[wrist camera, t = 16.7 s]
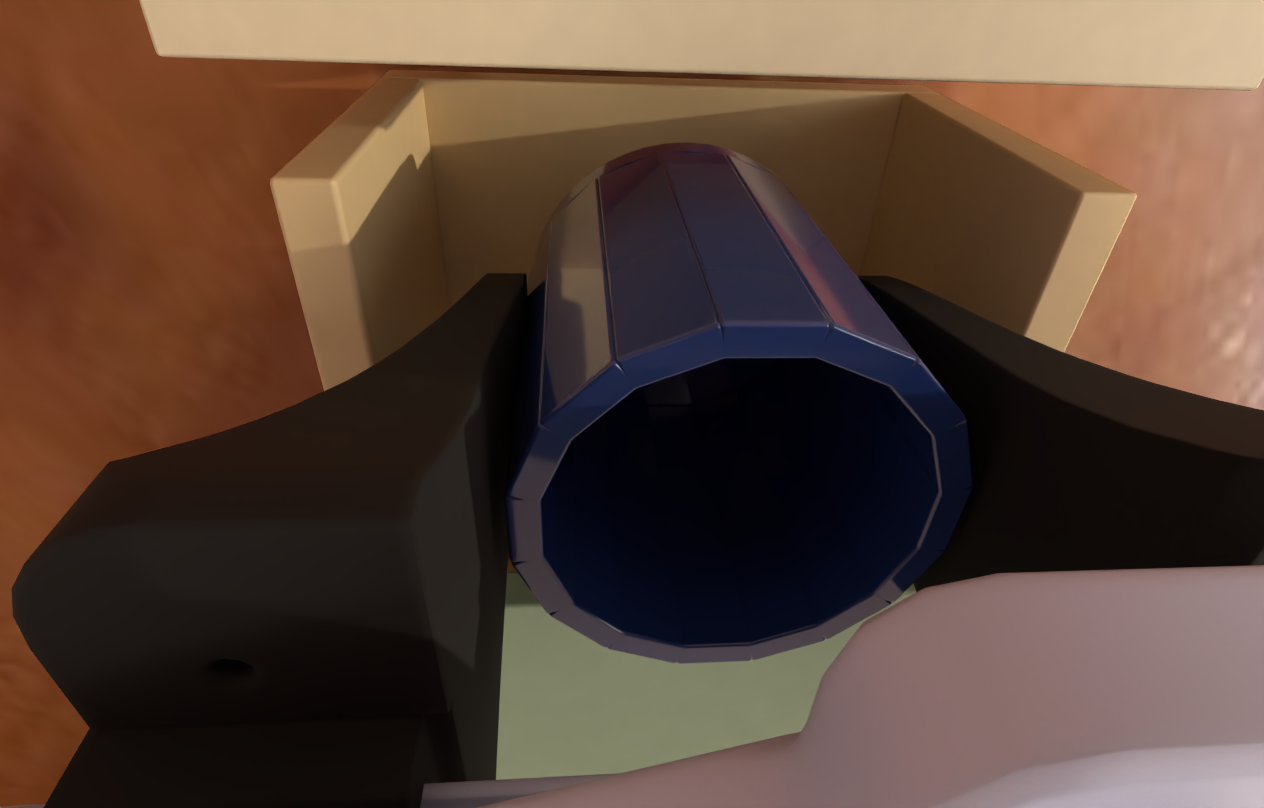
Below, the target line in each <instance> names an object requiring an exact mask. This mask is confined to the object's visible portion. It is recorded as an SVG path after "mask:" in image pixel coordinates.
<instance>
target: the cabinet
mask: <svg viewBox="0 0 1264 808" xmlns="http://www.w3.org/2000/svg"><path fill="white" fill-rule="evenodd" d="M915 593H917V592H916V589H915V587H914V584H912V585H911V586H910V587H909V588H908V589H907V590H906V591H905V592H904V593H903V594H902V595H901V596H900V597H899V598H898V599H897V600H896V601H895V602H892V604H891V605H890V606H888V607H886V608H884V609H882V610H881V611H879V612H877V613H875V614H873V615H872V616H870V617H868V618H866V619H864V620H863V621H861V622H859V623H857V624H855V625H854V626H852V627H850V628H848V629H846V630H845V631H843V632H841V633H839V634H837V635H836V636H834V637H832V638H830V639H825V640H824V641H823V642H819V643H816V644H812V645H808V646H805V647H801V648H797V649H794V650H790V651H787V652H783V653H779V654H776V655H772V656H768V657H765V658H761V659H758V660H750V661H741V662H716V663H691V664H679V663H669V662H665V661H660V660H656V659H651V658H646V657H642V656H637V655H632V654H628V653H623V652H619V651H614V650H609V649H608V648H607V647H606V648H605V647H602V646H600V645H599V644H597V643H595V642H594V641H592V640H590V639H588V638H587V637H585V636H583V635H582V634H580V633H578V632H576V631H575V630H573V629H571V628H570V627H568V626H566V625H564V624H563V623H561V622H559V621H558V620H556V619H554V618H552V617H551V616H550V615H549V613H546V611H545V610H544V609H543V607H542V606H541V604H540V603H539V602H538V600H537V599H536V598H535V596H534V595H533V593H532V592H531V591H530V589H529V588H528V586H527V585H526V584H525V582H524V581H523V579H522V578H521V577H520V575H519V574H518V572H507V583H506V599H505V614H504V631H503V649H502V666H501V684H500V705H499V725H498V745H497V768H496V780H503V779H522V778H541V777H560V776H579V775H598V774H617V773H625V772H629V771H633V770H638V769H642V768H646V767H650V766H655V765H659V764H663V763H667V762H672V761H676V760H680V759H685V758H689V757H693V756H697V755H702V754H706V753H710V752H714V751H719V750H723V749H727V748H731V747H736V746H740V745H744V744H748V743H753V742H757V741H761V740H765V739H770V738H774V737H778V736H782V735H787V734H792V733H797V732H801V731H802V729H803V728H804V726H805V724H806V722H807V720H808V717H809V714H810V711H811V708H812V705H813V702H814V699H815V696H816V693H817V690H818V687H819V684H820V681H821V678H822V676H823V675H824V673H825V672H826V670H827V669H828V668H829V666H830V665H831V664H832V662H833V661H834V660H835V658H836V657H837V656H838V654H839V653H840V652H841V651H842V649H843V648H844V647H845V645H846V644H847V643H848V641H849V640H850V639H851V638H852V636H853V635H854V634H855V632H856V631H857V630H858V628H859V627H860V626H861V625H862V623H863V622H864V621H866V620H868V619H870V618H872V617H873V616H875V615H877V614H879V613H881V612H882V611H884V610H886V609H888V608H890V607H892V606H893V605H895V604H897V603H899V602H901V601H902V600H904V599H906V598H908V597H910V596H911V595H913V594H915Z"/></svg>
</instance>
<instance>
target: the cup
mask: <svg viewBox="0 0 1264 808" xmlns="http://www.w3.org/2000/svg"><path fill="white" fill-rule="evenodd" d="M527 295H528V296H527V305H526V315H525V324H524V331H523V336H522V344H521V350H520V358H519V367H518V376H517V385H516V394H515V403H514V412H513V421H512V430H511V439H510V448H509V457H508V466H507V475H506V484H505V493H504V503H505V514H506V525H507V537H508V548H509V558H510V560H511V562H512V565H513V567H514V568H515V570H516V571H517V572H518V574H519V575H520V577H521V578H522V579H523V581H524V582H525V584H526V585H527V586H528V588H529V589H530V591H531V592H532V593H533V595H534V596H535V598H536V599H537V600H538V602H539V603H540V604H541V606H542V607H543V609H544V610H545V611H546V613H549V615H550V616H551V617H552V618H554V619H556V620H558V621H559V622H561V623H563V624H564V625H566V626H568V627H570V628H571V629H573V630H575V631H576V632H578V633H580V634H582V635H583V636H585V637H587V638H588V639H590V640H592V641H594V642H595V643H597V644H599V645H600V646H602V647H605V648H606V647H607V648H608V649H609V650H614V651H619V652H623V653H628V654H632V655H637V656H642V657H646V658H651V659H656V660H660V661H665V662H669V663H679V664H691V663H716V662H741V661H750V660H758V659H761V658H765V657H768V656H772V655H776V654H779V653H783V652H787V651H790V650H794V649H797V648H801V647H805V646H808V645H812V644H816V643H819V642H823V641H824V640H825V639H830V638H832V637H834V636H836V635H837V634H839V633H841V632H843V631H845V630H846V629H848V628H850V627H852V626H854V625H855V624H857V623H859V622H861V621H863V620H864V619H866V618H868V617H870V616H872V615H873V614H875V613H877V612H879V611H881V610H882V609H884V608H886V607H888V606H890V605H891V604H892V602H895V601H896V600H897V599H898V598H899V597H900V596H901V595H902V594H903V593H904V592H905V591H906V590H907V589H908V588H909V587H910V586H911V585H912V584H913V583H914V582H915V581H916V580H917V579H918V578H919V577H920V576H921V575H922V574H923V573H924V572H925V571H926V570H927V569H928V568H929V567H930V566H931V565H932V564H933V563H934V562H935V561H936V560H937V559H938V558H939V557H940V556H941V555H942V554H943V553H944V550H946V549H947V547H948V545H949V542H950V540H951V538H952V535H953V533H954V531H955V529H956V526H957V524H958V522H959V520H960V517H961V515H962V513H963V510H964V508H965V506H966V504H967V501H968V499H969V497H970V494H971V492H972V486H973V476H972V465H971V455H970V444H969V434H968V423H967V420H966V418H965V414H964V413H963V411H962V410H961V409H960V407H959V406H958V405H957V404H956V402H955V401H954V400H953V398H952V397H951V396H950V395H949V393H948V392H947V391H946V389H945V388H944V387H943V386H942V384H941V383H940V382H939V380H938V379H937V378H936V376H935V375H934V374H933V373H932V371H931V370H930V369H929V367H928V366H927V365H926V364H925V362H924V361H923V360H922V358H921V357H920V356H919V355H918V353H917V352H916V351H915V349H914V348H913V347H912V345H911V344H910V343H909V342H908V340H907V339H906V338H905V336H904V335H903V334H902V333H901V331H900V330H899V329H898V327H897V326H896V325H895V324H894V322H893V321H892V320H891V318H890V317H889V316H888V315H887V313H886V312H885V311H884V309H883V308H882V307H881V305H880V304H879V303H878V302H877V300H876V299H875V298H874V296H873V295H872V294H871V293H870V291H869V290H868V289H867V287H866V286H865V285H864V284H863V282H862V281H861V280H860V278H859V277H858V276H857V274H856V273H855V272H854V271H853V269H852V268H851V267H850V265H849V264H848V263H847V262H846V260H845V259H844V258H843V256H842V255H841V254H840V253H839V251H838V250H837V249H836V247H835V246H834V245H833V243H832V242H831V241H830V240H829V238H828V237H827V236H826V234H825V233H824V232H823V231H822V229H821V228H820V227H819V225H818V224H817V223H816V222H815V220H814V219H813V218H812V217H811V215H810V214H809V213H808V212H807V210H806V209H805V208H804V207H803V205H802V204H801V203H800V202H799V200H798V199H797V198H796V196H795V195H794V194H793V192H792V191H791V190H790V189H789V188H788V187H787V185H786V184H785V183H784V182H782V180H781V179H780V178H779V177H777V176H776V175H775V174H774V173H772V172H771V171H770V170H769V169H767V168H766V167H765V166H763V165H761V164H760V163H758V162H756V161H754V160H753V159H751V158H749V157H747V156H745V155H743V154H740V153H737V152H735V151H732V150H730V149H726V148H722V147H718V146H714V145H709V144H700V143H689V142H686V143H666V144H660V145H655V146H649V147H645V148H642V149H639V150H635V151H632V152H629V153H626V154H624V155H622V156H620V157H617V158H615V159H613V160H611V161H609V162H607V163H605V164H604V165H602V166H601V167H599V168H598V169H596V170H594V171H593V172H591V173H590V174H588V175H587V176H586V177H585V178H584V179H583V180H581V181H580V182H579V183H578V184H577V185H576V186H574V187H573V188H572V189H571V190H570V192H569V193H568V194H567V195H566V196H565V197H564V198H563V199H562V201H561V202H560V203H559V204H558V206H557V207H556V209H555V210H554V212H553V213H552V215H551V216H550V218H549V219H548V221H547V223H546V225H545V227H544V230H543V232H542V234H541V236H540V238H539V242H538V245H537V248H536V251H535V254H534V260H533V266H532V269H531V271H530V274H529V279H528V286H527Z"/></svg>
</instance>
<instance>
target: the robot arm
mask: <svg viewBox="0 0 1264 808" xmlns="http://www.w3.org/2000/svg"><path fill="white" fill-rule="evenodd" d="M858 277H859V278H860V280H861V281H862V282H863V284H864V285H865V286H866V287H867V289H868V290H869V291H870V293H871V294H872V295H873V296H874V298H875V299H876V300H877V302H878V303H879V304H880V305H881V307H882V308H883V309H884V311H885V312H886V313H887V315H888V316H889V317H890V318H891V320H892V321H893V322H894V324H895V325H896V326H897V327H898V329H899V330H900V331H901V333H902V334H903V335H904V336H905V338H906V339H907V340H908V342H909V343H910V344H911V345H912V347H913V348H914V349H915V351H916V352H917V353H918V355H919V356H920V357H921V358H922V360H923V361H924V362H925V364H926V365H927V366H928V367H929V369H930V370H931V371H932V373H933V374H934V375H935V376H936V378H937V379H938V380H939V382H940V383H941V384H942V386H943V387H944V388H945V389H946V391H947V392H948V393H949V395H950V396H951V397H952V398H953V400H954V401H955V402H956V404H957V405H958V406H959V407H960V409H961V410H962V411H963V413H964V414H965V418H966V420H967V423H968V434H969V444H970V455H971V465H972V476H973V486H972V492H971V494H970V497H969V499H968V501H967V504H966V506H965V508H964V510H963V513H962V515H961V517H960V520H959V522H958V524H957V526H956V529H955V531H954V533H953V535H952V538H951V540H950V542H949V545H948V547H947V549H946V550H944V553H943V554H942V555H941V556H940V557H939V558H938V559H937V560H936V561H935V562H934V563H933V564H932V565H931V566H930V567H929V568H928V569H927V570H926V571H925V572H924V573H923V574H922V575H921V576H920V577H919V578H918V579H917V580H916V581H915V582H914V583H913V584H914V587H915V589H916V592H917V593H915V594H913V595H911V596H910V597H908V598H906V599H904V600H902V601H901V602H899V603H897V604H895V605H893V606H892V607H890V608H888V609H886V610H884V611H882V612H881V613H879V614H877V615H875V616H873V617H872V618H870V619H868V620H866V621H864V622H863V623H862V625H861V626H860V627H859V628H858V630H857V631H856V632H855V634H854V635H853V636H852V638H851V639H850V640H849V641H848V643H847V644H846V645H845V647H844V648H843V649H842V651H841V652H840V653H839V654H838V656H837V657H836V658H835V660H834V661H833V662H832V664H831V665H830V666H829V668H828V669H827V670H826V672H825V673H824V675H823V676H822V678H821V681H820V684H819V687H818V690H817V693H816V696H815V699H814V702H813V705H812V708H811V711H810V714H809V717H808V720H807V722H806V724H805V726H804V728H803V729H802V731H801V732H797V733H792V734H787V735H782V736H778V737H774V738H770V739H765V740H761V741H757V742H753V743H748V744H744V745H740V746H736V747H731V748H727V749H723V750H719V751H714V752H710V753H706V754H702V755H697V756H693V757H689V758H685V759H680V760H676V761H672V762H667V763H663V764H659V765H655V766H650V767H646V768H642V769H638V770H633V771H629V772H625V773H617V774H598V775H579V776H560V777H541V778H522V779H503V780H496V768H497V745H498V725H499V705H500V684H501V666H502V649H503V631H504V614H505V599H506V583H507V568H508V557H509V548H508V537H507V525H506V514H505V503H504V493H505V484H506V475H507V466H508V457H509V448H510V439H511V430H512V421H513V412H514V403H515V394H516V385H517V376H518V367H519V358H520V350H521V344H522V336H523V331H524V324H525V315H526V305H527V296H528V295H527V276H526V273H487V274H486V275H485V276H483V277H482V278H481V279H480V280H479V281H478V282H477V283H476V284H475V285H474V286H473V287H472V288H471V289H470V290H469V291H468V292H467V293H466V294H464V295H463V296H462V297H461V298H460V299H459V300H458V301H457V302H456V303H455V304H454V305H453V306H452V307H450V308H449V309H448V310H447V311H446V312H445V313H444V314H443V315H442V316H440V317H439V318H438V319H437V320H436V321H435V322H433V323H432V324H431V325H429V326H428V327H427V328H425V329H424V330H423V331H422V332H420V333H419V334H418V335H416V336H415V337H414V338H413V339H411V340H410V341H409V342H407V343H406V344H405V345H404V346H402V347H401V348H399V349H398V350H396V351H395V352H394V353H392V354H391V355H389V356H388V357H386V358H384V359H383V360H381V361H380V362H378V363H376V364H375V365H373V366H371V367H370V368H368V369H366V370H364V371H363V372H361V373H359V374H358V375H356V376H354V377H352V378H350V379H349V380H347V381H345V382H343V383H341V384H338V385H336V386H334V387H332V388H330V389H328V390H326V391H324V392H321V393H319V394H317V395H315V396H313V397H311V398H309V399H306V400H304V401H302V402H300V403H298V404H296V405H293V406H291V407H289V408H286V409H284V410H281V411H278V412H276V413H273V414H271V415H268V416H266V417H263V418H260V419H258V420H255V421H252V422H249V423H246V424H243V425H240V426H237V427H234V428H231V429H229V430H226V431H223V432H219V433H216V434H213V435H210V436H206V437H203V438H200V439H196V440H192V441H189V442H185V443H181V444H177V445H174V446H170V447H166V448H162V449H159V450H155V451H151V452H148V453H144V454H140V455H136V456H133V457H129V458H124V459H120V460H116V461H111V462H109V463H108V464H107V465H106V466H105V467H104V469H103V470H102V471H101V472H100V473H99V474H98V475H97V477H96V478H95V479H94V480H93V481H92V483H91V484H90V485H89V486H88V487H87V489H86V490H85V491H84V492H83V493H82V495H81V496H80V497H79V498H78V499H77V501H76V502H75V503H74V504H73V506H72V507H71V508H70V509H69V510H68V512H67V513H66V514H65V515H64V516H63V518H62V519H61V520H60V521H59V522H58V524H57V525H56V526H55V527H54V528H53V530H52V531H51V532H50V533H49V534H48V536H47V537H46V538H45V539H44V541H43V542H42V543H41V544H40V545H39V547H38V548H37V549H36V550H35V551H34V553H33V554H32V555H31V556H30V557H29V559H28V560H27V561H26V562H25V563H24V565H23V567H22V569H21V571H20V573H19V575H18V577H17V579H16V581H15V583H14V585H13V587H12V604H13V617H14V619H15V621H16V623H17V624H18V626H19V628H20V630H21V632H22V634H23V636H24V638H25V640H26V642H27V644H28V645H29V647H30V649H31V651H32V652H33V653H34V655H35V656H36V657H37V659H38V660H39V661H40V663H41V664H42V665H43V667H44V668H45V669H46V671H47V672H48V673H49V674H50V676H51V677H52V678H53V680H54V681H55V682H56V684H57V685H58V686H59V688H60V689H61V690H62V692H63V693H64V694H65V696H66V697H67V698H68V700H69V701H70V702H71V704H72V705H73V706H74V707H75V709H76V710H77V711H78V713H79V714H80V715H81V717H82V718H83V719H84V721H85V722H86V723H87V725H88V726H89V727H90V729H89V731H88V732H87V734H86V736H85V738H84V739H83V741H82V743H81V744H80V746H79V748H78V750H77V751H76V753H75V755H74V756H73V758H72V760H71V762H70V763H69V765H68V767H67V768H66V770H65V772H64V774H63V775H62V777H61V779H60V780H59V782H58V784H57V786H56V787H55V789H54V791H53V792H52V794H51V796H50V798H49V799H48V801H47V803H46V804H29V805H10V806H0V808H1264V410H1259V409H1254V408H1250V407H1245V406H1241V405H1237V404H1232V403H1228V402H1224V401H1219V400H1215V399H1211V398H1207V397H1204V396H1200V395H1196V394H1192V393H1189V392H1185V391H1181V390H1177V389H1174V388H1170V387H1166V386H1163V385H1159V384H1155V383H1152V382H1149V381H1145V380H1142V379H1139V378H1136V377H1132V376H1129V375H1126V374H1123V373H1120V372H1117V371H1114V370H1111V369H1108V368H1106V367H1103V366H1100V365H1097V364H1094V363H1091V362H1088V361H1085V360H1082V359H1079V358H1077V357H1074V356H1072V355H1069V354H1066V353H1064V352H1061V351H1059V350H1056V349H1054V348H1051V347H1049V346H1047V345H1044V344H1042V343H1039V342H1037V341H1035V340H1032V339H1030V338H1028V337H1025V336H1023V335H1021V334H1018V333H1016V332H1014V331H1012V330H1009V329H1007V328H1005V327H1003V326H1001V325H998V324H996V323H994V322H992V321H990V320H988V319H985V318H983V317H981V316H979V315H977V314H975V313H973V312H971V311H969V310H967V309H964V308H962V307H960V306H958V305H956V304H954V303H952V302H950V301H948V300H946V299H944V298H941V297H939V296H937V295H935V294H933V293H931V292H929V291H926V290H924V289H922V288H920V287H917V286H915V285H913V284H910V283H908V282H905V281H903V280H900V279H897V278H893V277H890V276H858Z"/></svg>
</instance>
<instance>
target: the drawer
mask: <svg viewBox="0 0 1264 808" xmlns="http://www.w3.org/2000/svg"><path fill="white" fill-rule="evenodd" d="M139 2H140V5H141V8H142V11H143V14H144V17H145V20H146V23H147V27H148V30H149V33H150V36H151V39H152V42H153V45H154V48H155V51H156V53H157V55H159V56H162V57H175V58H208V59H240V60H273V61H305V62H338V63H370V64H403V65H435V66H468V67H500V68H533V69H565V70H598V71H631V72H663V73H696V74H728V75H761V76H793V77H826V78H858V79H891V80H923V81H956V82H988V83H1021V84H1053V85H1086V86H1118V87H1151V88H1183V89H1216V90H1248V91H1250V90H1254V89H1256V88H1257V87H1258V86H1259V84H1260V82H1261V81H1262V79H1263V77H1264V0H139ZM686 142H689V143H700V144H709V145H714V146H718V147H722V148H726V149H730V150H732V151H735V152H737V153H740V154H743V155H745V156H747V157H749V158H751V159H753V160H754V161H756V162H758V163H760V164H761V165H763V166H765V167H766V168H767V169H769V170H770V171H771V172H772V173H774V174H775V175H776V176H777V177H779V178H780V179H781V180H782V182H784V183H785V184H786V185H787V187H788V188H789V189H790V190H791V191H792V192H793V194H794V195H795V196H796V198H797V199H798V200H799V202H800V203H801V204H802V205H803V207H804V208H805V209H806V210H807V212H808V213H809V214H810V215H811V217H812V218H813V219H814V220H815V222H816V223H817V224H818V225H819V227H820V228H821V229H822V231H823V232H824V233H825V234H826V236H827V237H828V238H829V240H830V241H831V242H832V243H833V245H834V246H835V247H836V249H837V250H838V251H839V253H840V254H841V255H842V256H843V258H844V259H845V260H846V262H847V263H848V264H849V265H850V267H851V268H852V269H853V271H854V272H855V273H856V274H857V276H890V277H893V278H897V279H900V280H903V281H905V282H908V283H910V284H913V285H915V286H917V287H920V288H922V289H924V290H926V291H929V292H931V293H933V294H935V295H937V296H939V297H941V298H944V299H946V300H948V301H950V302H952V303H954V304H956V305H958V306H960V307H962V308H964V309H967V310H969V311H971V312H973V313H975V314H977V315H979V316H981V317H983V318H985V319H988V320H990V321H992V322H994V323H996V324H998V325H1001V326H1003V327H1005V328H1007V329H1009V330H1012V331H1014V332H1016V333H1018V334H1021V335H1023V336H1025V337H1028V338H1030V339H1032V340H1035V341H1037V342H1039V343H1042V344H1044V345H1047V346H1049V347H1051V348H1054V349H1056V350H1059V351H1061V352H1065V349H1066V347H1067V345H1068V343H1069V341H1070V339H1071V337H1072V334H1073V332H1074V330H1075V328H1076V326H1077V324H1078V322H1079V319H1080V317H1081V315H1082V313H1083V311H1084V309H1085V307H1086V304H1087V302H1088V300H1089V298H1090V296H1091V294H1092V292H1093V290H1094V287H1095V285H1096V283H1097V281H1098V279H1099V277H1100V275H1101V272H1102V270H1103V268H1104V266H1105V264H1106V262H1107V260H1108V257H1109V255H1110V253H1111V251H1112V249H1113V247H1114V245H1115V243H1116V240H1117V238H1118V236H1119V234H1120V232H1121V230H1122V228H1123V225H1124V223H1125V221H1126V219H1127V217H1128V215H1129V213H1130V210H1131V208H1132V206H1133V204H1134V202H1135V200H1136V197H1137V195H1136V193H1134V192H1132V191H1130V190H1128V189H1126V188H1124V187H1122V186H1120V185H1118V184H1116V183H1115V182H1113V181H1111V180H1109V179H1107V178H1105V177H1103V176H1101V175H1099V174H1097V173H1095V172H1093V171H1091V170H1089V169H1087V168H1085V167H1083V166H1081V165H1079V164H1077V163H1075V162H1073V161H1071V160H1069V159H1067V158H1065V157H1064V156H1062V155H1060V154H1058V153H1056V152H1054V151H1052V150H1050V149H1048V148H1046V147H1044V146H1042V145H1040V144H1038V143H1036V142H1034V141H1032V140H1030V139H1028V138H1026V137H1024V136H1022V135H1020V134H1018V133H1016V132H1014V131H1012V130H1011V129H1009V128H1007V127H1005V126H1003V125H1001V124H999V123H997V122H995V121H993V120H991V119H989V118H987V117H985V116H983V115H981V114H979V113H977V112H975V111H973V110H971V109H969V108H967V107H965V106H963V105H961V104H960V103H958V102H956V101H954V100H952V99H950V98H948V97H946V96H944V95H942V94H939V93H937V92H935V91H933V90H931V89H929V88H927V87H925V86H923V85H890V84H857V83H824V82H791V81H757V80H724V79H691V78H658V77H625V76H592V75H558V74H525V73H492V72H459V71H426V70H392V69H391V70H389V71H388V72H387V73H385V74H384V75H383V76H382V77H381V79H379V80H378V81H377V82H376V83H375V84H374V85H373V86H372V87H370V88H369V89H368V90H367V91H366V92H365V93H364V94H363V95H362V96H361V97H359V98H358V99H357V100H356V101H355V102H354V103H353V104H352V105H351V106H350V107H348V108H347V109H346V110H345V111H344V112H343V113H342V114H341V115H340V116H339V117H338V118H336V119H335V120H334V121H333V122H332V123H331V124H330V125H329V126H328V127H327V128H325V129H324V130H323V131H322V132H321V133H320V134H319V135H318V136H317V137H316V138H314V139H313V140H312V141H311V142H310V143H309V144H308V145H307V146H306V147H305V148H303V149H302V150H301V151H300V152H299V153H298V154H297V155H296V156H295V157H294V158H293V159H291V160H290V161H289V162H288V163H287V164H286V165H285V166H284V167H283V168H282V169H280V170H279V171H278V172H277V173H276V174H275V175H274V176H273V177H272V178H271V179H270V186H271V190H272V194H273V198H274V202H275V205H276V209H277V213H278V217H279V221H280V225H281V228H282V232H283V236H284V240H285V244H286V248H287V251H288V255H289V259H290V263H291V267H292V270H293V274H294V278H295V282H296V286H297V290H298V293H299V297H300V301H301V305H302V309H303V312H304V316H305V320H306V324H307V328H308V332H309V335H310V339H311V343H312V347H313V351H314V354H315V358H316V362H317V366H318V370H319V374H320V377H321V381H322V385H323V389H324V391H326V390H328V389H330V388H332V387H334V386H336V385H338V384H341V383H343V382H345V381H347V380H349V379H350V378H352V377H354V376H356V375H358V374H359V373H361V372H363V371H364V370H366V369H368V368H370V367H371V366H373V365H375V364H376V363H378V362H380V361H381V360H383V359H384V358H386V357H388V356H389V355H391V354H392V353H394V352H395V351H396V350H398V349H399V348H401V347H402V346H404V345H405V344H406V343H407V342H409V341H410V340H411V339H413V338H414V337H415V336H416V335H418V334H419V333H420V332H422V331H423V330H424V329H425V328H427V327H428V326H429V325H431V324H432V323H433V322H435V321H436V320H437V319H438V318H439V317H440V316H442V315H443V314H444V313H445V312H446V311H447V310H448V309H449V308H450V307H452V306H453V305H454V304H455V303H456V302H457V301H458V300H459V299H460V298H461V297H462V296H463V295H464V294H466V293H467V292H468V291H469V290H470V289H471V288H472V287H473V286H474V285H475V284H476V283H477V282H478V281H479V280H480V279H481V278H482V277H483V276H485V275H486V274H487V273H526V276H527V286H528V279H529V274H530V271H531V269H532V266H533V260H534V254H535V251H536V248H537V245H538V242H539V238H540V236H541V234H542V232H543V230H544V227H545V225H546V223H547V221H548V219H549V218H550V216H551V215H552V213H553V212H554V210H555V209H556V207H557V206H558V204H559V203H560V202H561V201H562V199H563V198H564V197H565V196H566V195H567V194H568V193H569V192H570V190H571V189H572V188H573V187H574V186H576V185H577V184H578V183H579V182H580V181H581V180H583V179H584V178H585V177H586V176H587V175H588V174H590V173H591V172H593V171H594V170H596V169H598V168H599V167H601V166H602V165H604V164H605V163H607V162H609V161H611V160H613V159H615V158H617V157H620V156H622V155H624V154H626V153H629V152H632V151H635V150H639V149H642V148H645V147H649V146H655V145H660V144H666V143H686ZM507 572H517V571H516V570H515V568H514V567H513V565H512V562H511V560H510V558H509V557H508V568H507Z"/></svg>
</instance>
